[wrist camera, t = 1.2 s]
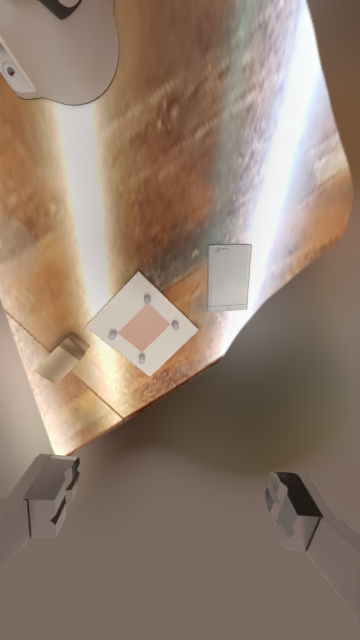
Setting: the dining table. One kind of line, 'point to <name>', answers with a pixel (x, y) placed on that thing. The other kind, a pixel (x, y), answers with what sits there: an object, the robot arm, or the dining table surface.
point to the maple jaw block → (62, 359)
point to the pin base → (142, 325)
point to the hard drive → (228, 277)
